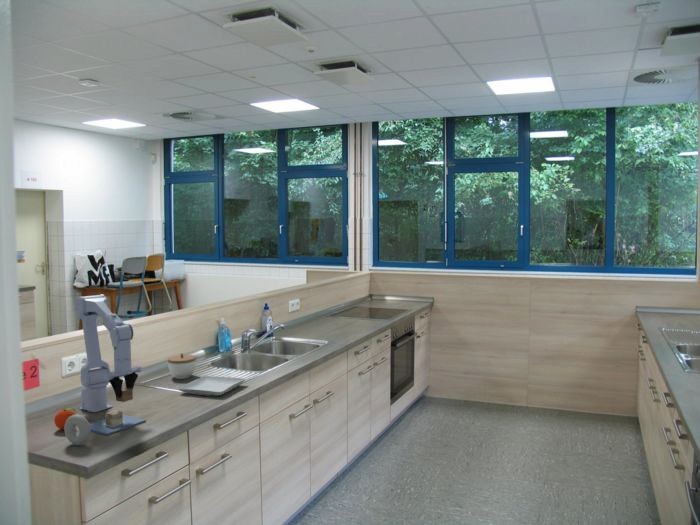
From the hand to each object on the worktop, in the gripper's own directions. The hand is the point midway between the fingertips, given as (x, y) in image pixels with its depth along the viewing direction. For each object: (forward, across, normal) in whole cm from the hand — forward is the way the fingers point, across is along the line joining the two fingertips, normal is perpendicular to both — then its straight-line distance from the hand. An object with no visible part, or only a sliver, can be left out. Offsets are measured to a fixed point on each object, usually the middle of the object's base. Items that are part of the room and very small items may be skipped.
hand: (124, 395), depth 208 cm
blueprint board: (+9, -4, 0) cm, 10 cm away
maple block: (+9, -4, 0) cm, 10 cm away
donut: (+10, -23, -6) cm, 25 cm away
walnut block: (+2, 0, 0) cm, 2 cm away
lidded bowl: (+10, +55, +28) cm, 62 cm away
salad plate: (+10, +46, +1) cm, 47 cm away
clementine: (+10, -15, +12) cm, 21 cm away
